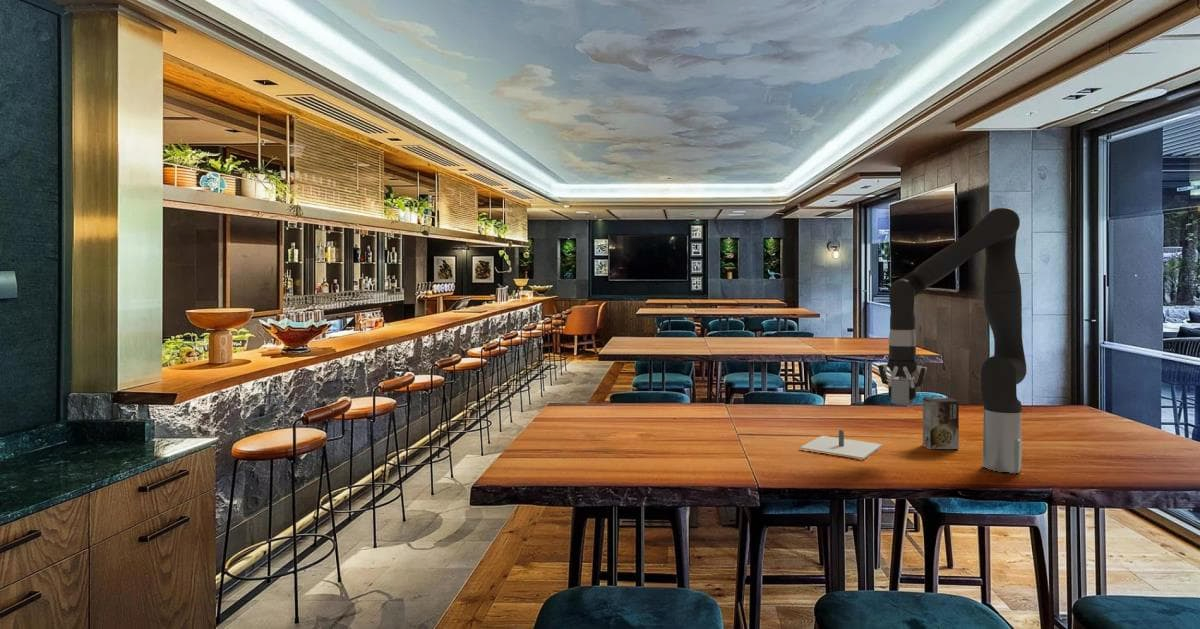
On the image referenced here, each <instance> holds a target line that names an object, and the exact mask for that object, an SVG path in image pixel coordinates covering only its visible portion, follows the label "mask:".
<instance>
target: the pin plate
mask: <svg viewBox="0 0 1200 629" xmlns="http://www.w3.org/2000/svg"><path fill="white" fill-rule="evenodd" d="M880 447H882V448H883V444H882V443H876V442H869V441H868V442H867V441H860V440H855V439H848V438H847V439H846V438H845V430H843V429H840V430H839V431H838V437H834V436H827V435H821V436H819V437H816V438H814V439H813V440H811V441H809V442H807V443H805V444H803V445H802V446H800V447H799V449H800V448H801V449H807V450H812V451H818V452H825V453H831V454H836V455H842V456H848V457H854V458H859V459H865V458H866V457H867V456H869V455H870V454H872V453H873V452H875V451H876V450H878V449H879V448H880ZM879 450H880V449H879ZM879 450H878V451H879ZM876 452H877V451H876ZM876 452H875V453H876ZM872 455H873V454H872ZM869 457H870V456H869ZM865 460H866V459H865Z"/></svg>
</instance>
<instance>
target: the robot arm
mask: <svg viewBox="0 0 1200 629" xmlns="http://www.w3.org/2000/svg"><path fill="white" fill-rule="evenodd" d="M1020 225H1021V221H1020V217H1019V214H1018V212H1016V211H1015V210H1013V209H1011V208H1008V207H997V208H994V209H991V210H990V211H989V212H987V213H986V214H985V215H984V216H983V218H982V219H981V220H979V222H978V223H976V225H974V227H972V228H971V229H970V230H969V231H968V232H966V233H965V234H964V235H962V236H960V238H958V239H957V240H955V241H954V242H952V243H951V244H949V245H948V246H946V247H944V248H943V249H941V250H940V251H938V252H936V253H935V254H933V255H932V256H931V257H929V258H928V259H927V260H925V261H923V262H922V263H921V264H919V265H918V266H917V267H916V268H915V269H913V270H912V271H911V272H909V273H907V274H906V275H904V276H903V277H902V278H899V279H897V280H895V281H893V282H892V283H891V285H890V287H889V290H888V291H889V292H888V295H889V296H888V298H889V309H890V316H889V333H888V334H889V336H888V362H886V363H885V364H879V365H877V366H878V371H879V377H880V380H881V383H882V384H884V385H886V386H888V390H887V391H888V397H890V398H891V380H895V379H898V378H899V377H902V378H906V379H907V380H908V381H910V386H911V388H910V400H913V401H914V399H916V398H917V388H918V387H921V386H923V385H924V383H925V379H926V378H925V377H926V375H927V371H928V367H926V366H920V365H918V363H917V335H916V316H915V315H916V314H915V297H917V296H918V295H920V294H921V293H922V292H923V291H924V290H926V289H927V288H929V287H930V286H933V285H934V284H936V283H938V282H940V281H941V280H942V279H944V278H945V277H947V276H949V274H951V273H952V272H953V271H955V270H957V269H958V268H959V267H960V266H962V265H963V264H964V263H965V262H967V261H968V260H969V259H971V258H972V257H974V256H975V255H976V254H978V253H979V252H981V251H983V250H984V249H985V250H984V251H985V269H984V276H983V277H984V278H983V308H984V313H985V316H986V318H987V321H988V324H989V327H990V329H991V331H992V334H993V341H994V346H993V347H994V348H993V350H994V351H993V352H994V353H993V355H992V356H990V357H988V358H986V359H985V360H984V361H983V363H982V364H981V370H980V396H981V401H982V402H983V420H982V421H983V423H982V424H983V426H982V428H983V430H982V432H983V435H982V467H985V468H987V469H986V470H988V469H989V470H988V471H991V470H993V471H992V472H995V471H998V472H997V473H1001V472H1009V473H1008V474H1016V473H1019V472H1021V471H1022V456H1023V455H1022V454H1023V453H1022V452H1023V451H1022V450H1023V449H1022V448H1023V444H1022V443H1023V437H1022V407H1023V405H1022V402H1021V401H1020V400H1019V399H1018V395H1017V385H1019V384H1020V383H1022V382H1023V381H1024V379H1025V378H1026V376H1027V361H1026V356H1025V350H1024V342H1023V315H1022V314H1023V312H1022V311H1023V310H1022V307H1023V304H1022V302H1023V300H1022V299H1023V298H1022V297H1023V296H1022V285H1021V278H1020V274H1019V273H1020V272H1019V269H1018V264H1017V257H1016V245H1017V244H1016V243H1017V234H1018V231H1019V228H1020ZM888 369H889V370H890V372H891V375H890V377H889V379H888V377H887V376H888V375H887V370H888ZM916 370H917V373H918V374H919V375H918V379H917V381H916V379H915V376H914V372H915V371H916ZM985 468H984V469H985ZM1020 470H1021V471H1020ZM1019 474H1020V473H1019Z"/></svg>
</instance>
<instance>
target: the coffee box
mask: <svg viewBox="0 0 1200 629" xmlns="http://www.w3.org/2000/svg"><path fill="white" fill-rule="evenodd" d="M959 407H960V402H959V400H957V399H955V398H953V397H922V446H923V445H925V446H926V447H928V448H930V449H959V448H960V447H959V445H960V444H959V443H960V442H959V440H960V439H959V436H960V435H959V433H960V432H959V430H960V429H959V428H960V424H959V422H960V421H959V420H960V419H959V414H960V413H959V412H960V408H959ZM925 446H924V447H925ZM926 447H925V448H926ZM928 448H927V449H928ZM930 449H929V450H930Z"/></svg>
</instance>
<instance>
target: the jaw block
mask: <svg viewBox="0 0 1200 629" xmlns="http://www.w3.org/2000/svg"><path fill="white" fill-rule="evenodd" d="M910 388H911V386H910V381H908V380H907V378H906V379H905V378H897V379H895V380H891V397H890V399H891V400H890V402H891V404H897V405H912V404H913V402H914V400H910Z"/></svg>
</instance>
